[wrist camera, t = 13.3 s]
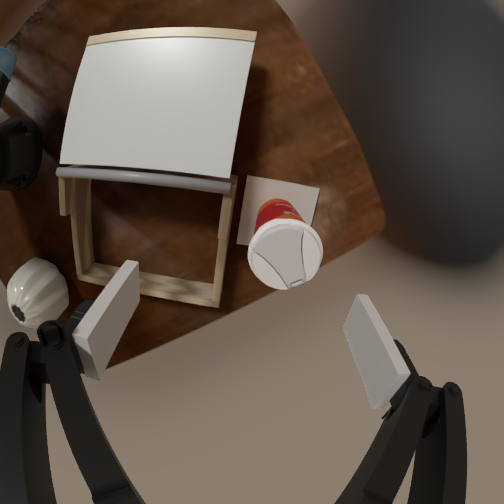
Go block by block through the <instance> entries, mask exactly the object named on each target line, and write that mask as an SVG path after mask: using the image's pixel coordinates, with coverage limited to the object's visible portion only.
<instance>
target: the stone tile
mask: <svg viewBox="0 0 504 504" xmlns="http://www.w3.org/2000/svg"><path fill="white" fill-rule="evenodd" d="M318 194H319V188H316V187H311V186H306V185H301V184H296V183H291V182H285V181H280V180H274V179H269V178H263V177H257V176H251V175H247V180H246V186H245V193H244V199H243V205H242V211H241V217H240V224H239V230H238V237H237V243H236V244H242V245H248V246H249V244H250V242H251V240H252V238H253V236H254V230H255V225H256V219H257V215H258V212H259V209H260V208H261V206H262V205H263V204H264V203H265V202H267V201H269V200H271V199H283V200H286V201H288V202H289V203H290V204H291V205H292V206H293V207H294V208H295V209H296V211H297V212H298V213H299V214H300V216H301V217H302V218H303V220H304V221H305V223H306V224H307V225H309V226H310V227H311V223H312V219H313V215H314V211H315V206H316V202H317V198H318Z"/></svg>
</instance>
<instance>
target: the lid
mask: <svg viewBox="0 0 504 504" xmlns="http://www.w3.org/2000/svg"><path fill="white" fill-rule="evenodd" d="M256 36H257V32H254V31H245V30H236V29H224V28H205V27H168V28H150V29H138V30H128V31H120V32H113V33H107V34H101V35H95V36H90V37H89V39H88V42H87V47H86V50H85V52H84V55H83V58H82V61H81V65H80V68H79V71H78V75H77V78H76V82H75V85H74V89H73V93H72V97H71V101H70V105H69V110H68V115H67V119H66V125H65V130H64V136H63V142H62V149H61V156H60V164H84V165H104V166H120V167H133V168H145V169H156V170H166V171H176V172H185V173H193V174H201V175H209V176H216V177H223V178H230V174H231V168H232V162H233V156H234V150H235V144H236V139H237V133H238V127H239V122H240V116H241V111H242V105H243V100H244V95H245V90H246V84H247V79H248V74H249V69H250V64H251V59H252V55H253V50H254V45H255V41H256ZM56 176H57V177H71V178H87V179H101V180H113V181H124V182H135V183H145V184H154V185H163V186H172V187H180V188H188V189H195V190H203V191H210V192H217V193H224V194H230V190H231V183H229V182H222V181H215V180H207V179H200V178H192V177H183V176H175V175H165V174H156V173H145V172H134V171H121V170H107V169H90V168H67V167H58V168H57V170H56Z"/></svg>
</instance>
